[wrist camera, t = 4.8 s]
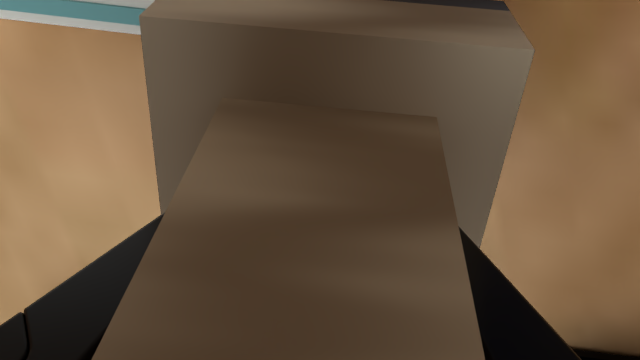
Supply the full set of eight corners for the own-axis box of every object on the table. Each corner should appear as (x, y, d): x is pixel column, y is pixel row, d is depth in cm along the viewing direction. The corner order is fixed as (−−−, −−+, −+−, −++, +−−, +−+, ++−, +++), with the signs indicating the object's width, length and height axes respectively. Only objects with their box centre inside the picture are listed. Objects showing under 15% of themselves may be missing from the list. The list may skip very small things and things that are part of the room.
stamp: (503, 1, 11) (717, 333, 4) (445, 248, 14) (509, 654, 7) (182, -26, 11) (-111, 250, 4) (199, 225, 14) (48, 601, 8)
